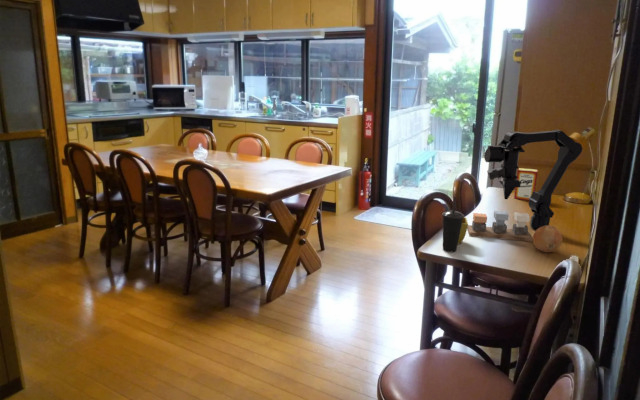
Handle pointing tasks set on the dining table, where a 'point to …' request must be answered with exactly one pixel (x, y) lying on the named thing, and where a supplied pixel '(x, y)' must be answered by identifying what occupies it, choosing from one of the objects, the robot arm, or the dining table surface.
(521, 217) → the cream button
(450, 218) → the drinking cup
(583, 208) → the dining table surface
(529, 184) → the baking soda box
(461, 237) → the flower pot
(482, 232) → the walnut button board
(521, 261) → the dining table surface
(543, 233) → the onion
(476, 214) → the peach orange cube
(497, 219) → the slate button
